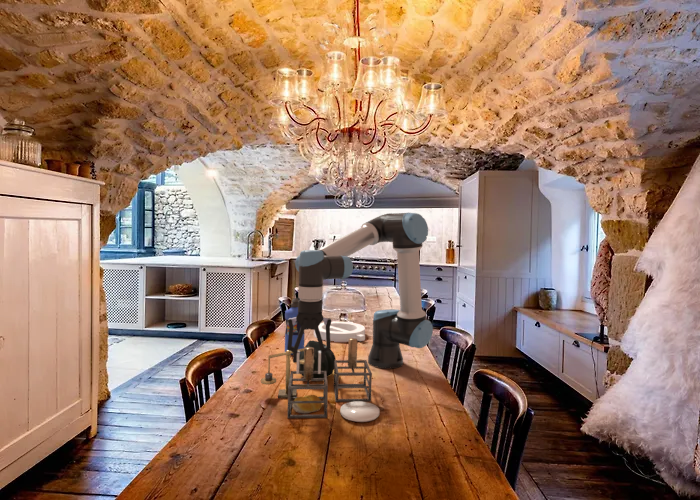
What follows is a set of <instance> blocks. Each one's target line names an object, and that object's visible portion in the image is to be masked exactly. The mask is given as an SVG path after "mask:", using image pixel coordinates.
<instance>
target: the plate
mask: <svg viewBox="0 0 700 500" xmlns="http://www.w3.org/2000/svg"><path fill="white" fill-rule="evenodd" d="M339 411H340V412H339V413H340V415H341V416H342V418H344V419H346V420H348V421H352V422H359V423H364V422H371V421H374V420H377V418H378V417H379V416H380V408H379V407H378V406H377V405H376V404H374V403H371V402H363V401H354V402H345V403H344V404H342V405H341V406H340V410H339Z"/></svg>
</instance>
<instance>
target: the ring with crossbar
mask: <svg viewBox="0 0 700 500" xmlns="http://www.w3.org/2000/svg"><path fill="white" fill-rule="evenodd" d="M318 328H319V331H320V335H321V338H322V341H324V340H325V342H326V325H324V322H321V323H320V325H319V326H318ZM313 337H314V338H316V339H317V336H316V333H315V330H313ZM349 338H356V339H357V342H364V341H365V340H366V328H365V326H364V325H362V324H360V323H355V322H350V321H331V325H330V342H331V341H334V342H333V343H349Z"/></svg>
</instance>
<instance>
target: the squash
mask: <svg viewBox="0 0 700 500" xmlns="http://www.w3.org/2000/svg"><path fill="white" fill-rule="evenodd" d="M323 345H324V347H325V346H326V344H325V343H323ZM306 347H313V348H314V365H313V371H318V354H319V351H321V350H320V346H319V343H318V340H317V341H316V340H308V341H307V343H306V345H304V348H306ZM334 353H335V352H333V351H332V349H331V350H330V351H326V352H325V361H324V363H321V371H326V374H327V377H330V376H331V375H333V374H334V360H336V356H335V354H334ZM301 359H304V351H302V352H301V353H300V354H299V371H304V365H302V364H300V360H301ZM300 375H301V376H302V378H304V374H300ZM313 378H324V374H313Z"/></svg>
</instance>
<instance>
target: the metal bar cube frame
mask: <svg viewBox="0 0 700 500" xmlns="http://www.w3.org/2000/svg"><path fill="white" fill-rule="evenodd" d="M347 351H348V355H347V356H348V357H347V360H345V359H343V360H342V359H337V360H334V370H333V391H334V398H335V399H334V400H335V403H349V402H354V401H363V402H368V403H371V402H372V383H373V381H372V379H373V373H372V371H371V368H370V366H369V363H368V360H367V359H361V360H359V359H357V358H358V340H357V339H356V338H349V342H348V349H347ZM359 363H360V364H361V363H362V364H364V365H363V366H357V365H358V364H359ZM338 364H347V366H338ZM346 369H347V370H351V372H350V371H349V372H348V371H347V372H346V371H345V372H339V370H346ZM356 369H357V370H358V369H359V370H361V369H362V370H363V371H360V372H359V371H355V370H356ZM343 376H345V377H347V376H349V377H353V376H354V377H355V376H356V377H357V376H361V377H363V383H339V382H340V381H339V380H340V379H339V377H343ZM368 376H369V377H368ZM339 389H364V391H365V394H366V397H367V398H339Z"/></svg>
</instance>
